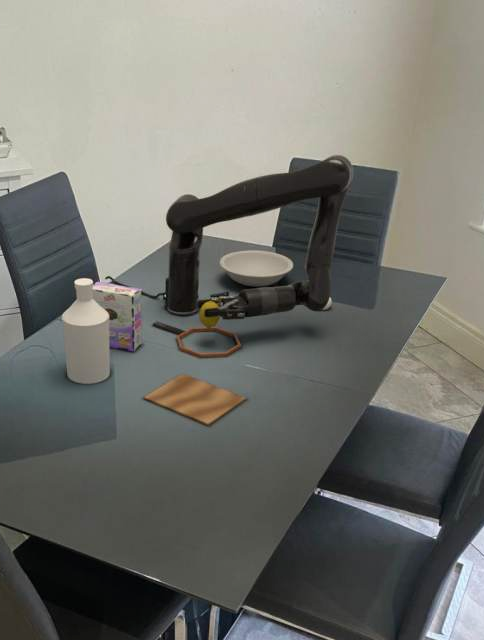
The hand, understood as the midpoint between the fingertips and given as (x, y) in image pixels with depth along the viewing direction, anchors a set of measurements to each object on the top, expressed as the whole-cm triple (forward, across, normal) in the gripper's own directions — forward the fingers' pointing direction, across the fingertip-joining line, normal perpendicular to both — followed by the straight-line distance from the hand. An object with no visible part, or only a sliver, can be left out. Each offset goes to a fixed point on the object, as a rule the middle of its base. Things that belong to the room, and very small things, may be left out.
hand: (201, 308), depth 203 cm
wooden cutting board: (+11, +29, +11) cm, 33 cm away
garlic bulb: (-45, -15, +11) cm, 49 cm away
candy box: (+23, -7, +11) cm, 26 cm away
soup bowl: (-33, -40, +11) cm, 53 cm away
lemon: (-3, 0, +6) cm, 7 cm away
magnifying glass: (0, -5, +11) cm, 12 cm away
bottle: (+34, +8, +11) cm, 37 cm away
